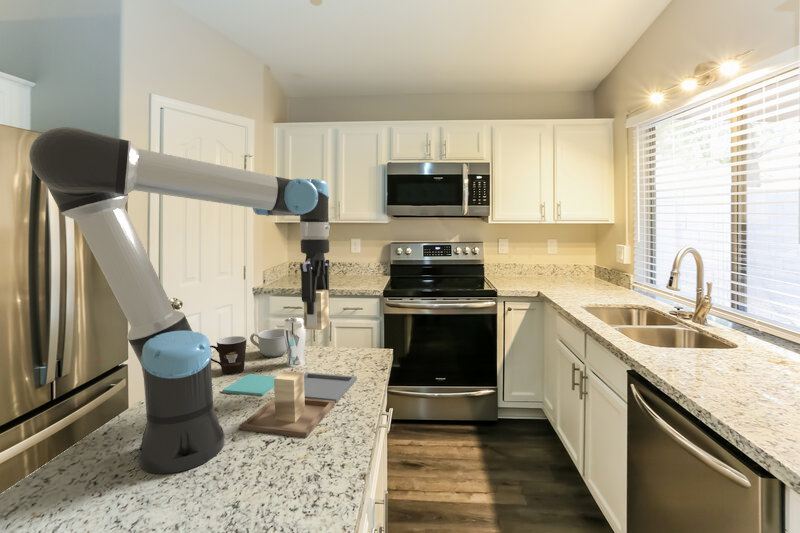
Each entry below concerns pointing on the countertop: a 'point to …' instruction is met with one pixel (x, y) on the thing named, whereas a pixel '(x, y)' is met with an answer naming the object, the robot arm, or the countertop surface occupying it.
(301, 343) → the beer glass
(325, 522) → the countertop surface
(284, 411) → the plain block
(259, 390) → the teal mat
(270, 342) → the teacup
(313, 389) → the grey tray
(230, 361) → the coffee mug
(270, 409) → the walnut tray
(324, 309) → the letter block
